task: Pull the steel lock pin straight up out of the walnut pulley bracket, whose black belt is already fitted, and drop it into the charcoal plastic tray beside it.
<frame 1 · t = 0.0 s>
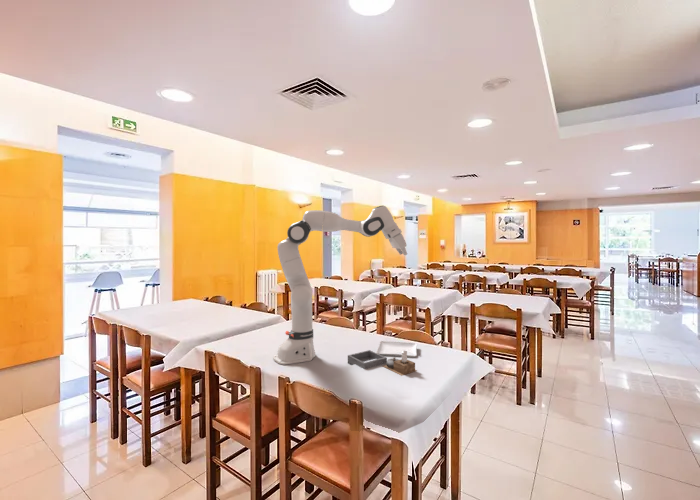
hand: (403, 254, 185), 54 cm above the table, tool tilted 30°, fingers open, 8 cm apart
pulley bracket: (399, 371, 159), on the table
tray: (367, 364, 169), on the table
salad plate: (397, 353, 186), on the table
lock pin: (404, 370, 156), point 1 cm above the table, touching pulley bracket
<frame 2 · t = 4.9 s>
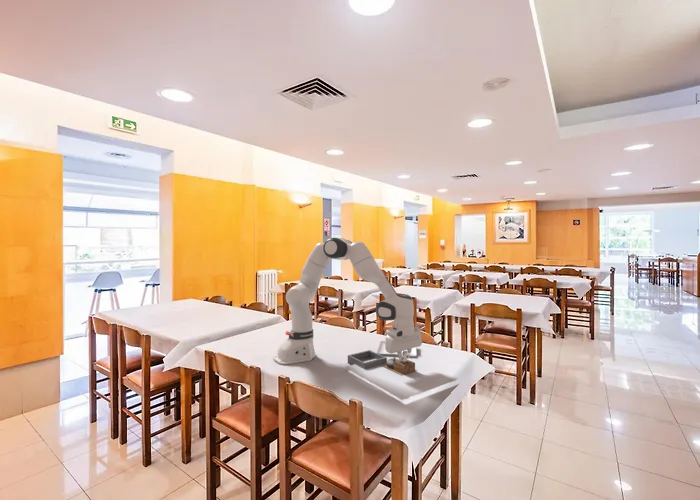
hand: (404, 358, 156), 7 cm above the table, tool pointing down, fingers closed on lock pin, 2 cm apart
lock pin: (404, 370, 156), point 2 cm above the table, touching gripper, pulley bracket
everything else where it was.
when the fingers open (8 cm above the table, at t = 13.3 s): lock pin drops 2 cm, resting on tray.
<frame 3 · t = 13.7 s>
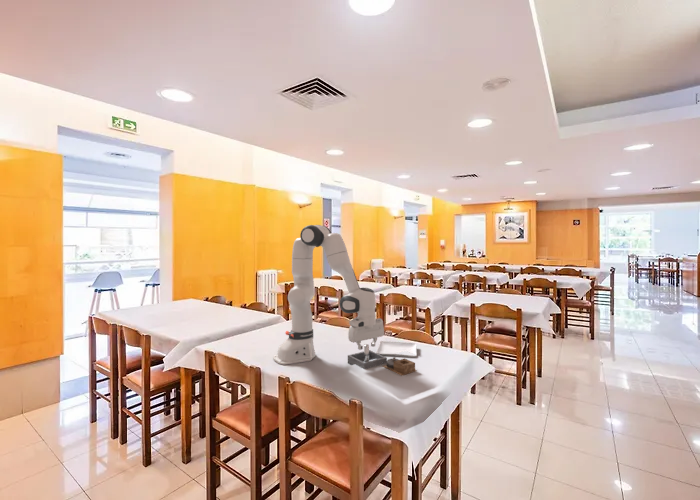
hand: (366, 347, 168), 8 cm above the table, tool pointing down, fingers open, 7 cm apart
lock pin: (366, 362, 169), point 1 cm above the table, touching tray
everything else where it was.
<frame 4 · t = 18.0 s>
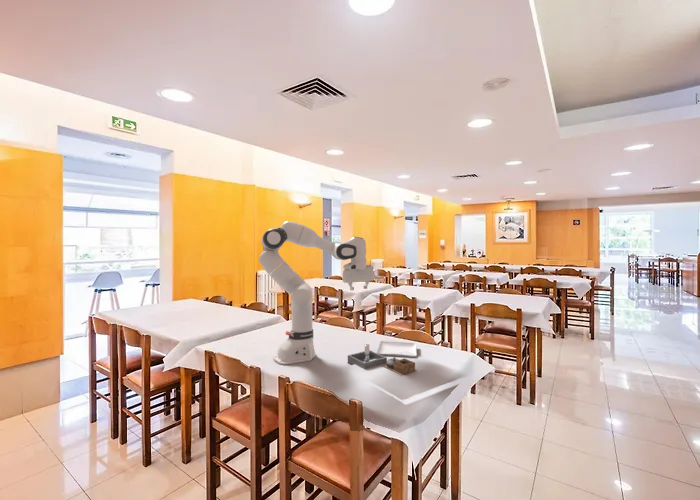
hand: (358, 289, 192), 34 cm above the table, tool pointing down, fingers open, 8 cm apart
nothing on the table moved.
at the end: lock pin inside the target area on the tray (0.1 cm from its centre), point 0.8 cm above the tray's base; the gripper is holding nothing; lock pin moved 20.8 cm from its start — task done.
